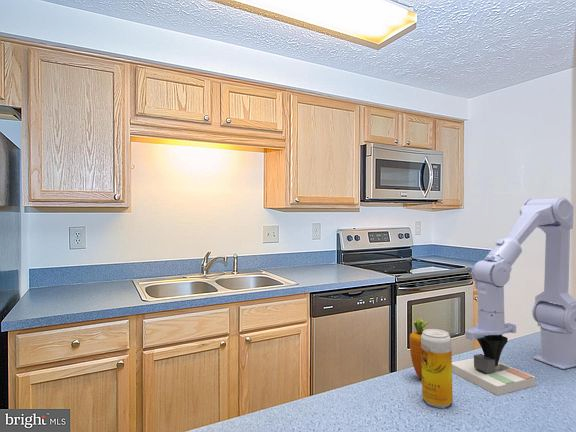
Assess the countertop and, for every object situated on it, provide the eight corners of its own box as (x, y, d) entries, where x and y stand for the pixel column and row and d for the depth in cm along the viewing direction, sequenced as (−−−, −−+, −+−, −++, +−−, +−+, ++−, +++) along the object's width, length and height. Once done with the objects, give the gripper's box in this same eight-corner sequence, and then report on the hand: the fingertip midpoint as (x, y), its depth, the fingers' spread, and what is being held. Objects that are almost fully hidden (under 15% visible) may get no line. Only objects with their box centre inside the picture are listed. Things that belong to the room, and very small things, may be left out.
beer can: (416, 398, 81) (414, 330, 81) (438, 392, 83) (436, 326, 83) (436, 411, 75) (434, 339, 75) (459, 405, 77) (457, 334, 77)
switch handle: (481, 372, 91) (481, 353, 91) (495, 379, 88) (495, 359, 88) (474, 374, 91) (473, 355, 91) (488, 381, 87) (487, 361, 87)
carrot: (412, 373, 93) (411, 314, 93) (433, 377, 91) (431, 317, 91) (408, 381, 89) (406, 319, 89) (429, 385, 87) (428, 322, 86)
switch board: (484, 363, 98) (484, 354, 98) (535, 385, 85) (535, 376, 85) (449, 370, 94) (449, 362, 94) (497, 395, 81) (497, 385, 81)
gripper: (498, 303, 96) (499, 354, 96) (455, 309, 91) (456, 363, 91) (523, 309, 90) (524, 364, 90) (478, 316, 85) (480, 375, 85)
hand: (492, 365), depth 90 cm, fingers closed
